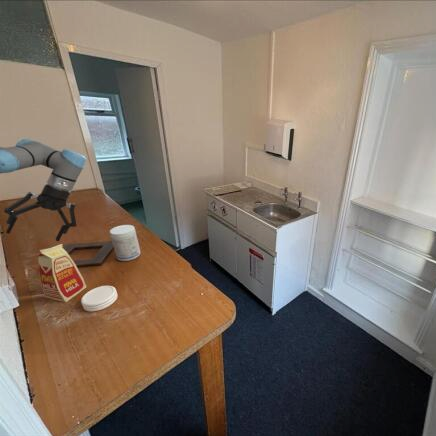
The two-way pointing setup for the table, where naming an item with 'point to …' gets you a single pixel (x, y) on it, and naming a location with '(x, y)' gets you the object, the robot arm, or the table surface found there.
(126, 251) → the supplement tub
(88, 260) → the holder board
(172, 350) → the table surface
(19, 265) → the table surface
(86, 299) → the coaster
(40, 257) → the milk carton
